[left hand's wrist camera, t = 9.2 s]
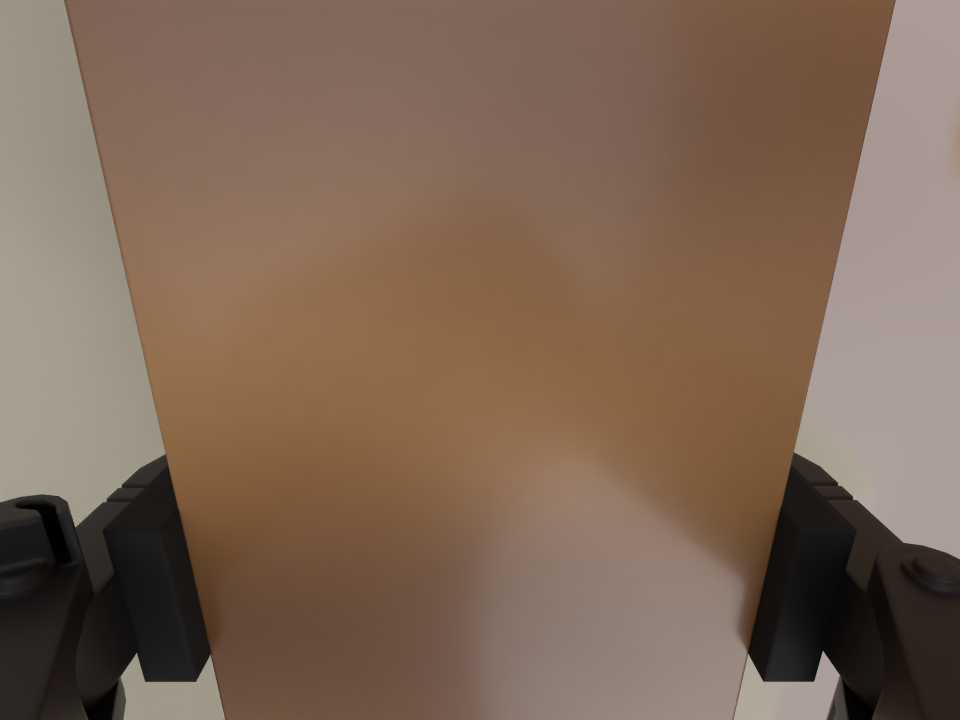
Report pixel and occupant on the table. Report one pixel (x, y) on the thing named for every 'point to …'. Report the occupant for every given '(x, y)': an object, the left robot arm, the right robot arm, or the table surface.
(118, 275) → the table surface
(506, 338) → the slab
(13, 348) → the table surface
